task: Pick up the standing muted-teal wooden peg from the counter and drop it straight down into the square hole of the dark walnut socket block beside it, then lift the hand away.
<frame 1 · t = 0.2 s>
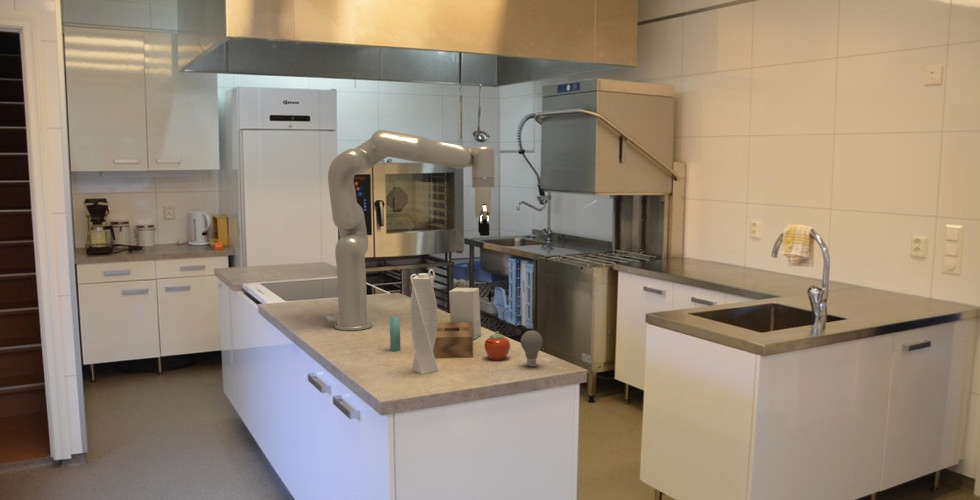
hand: (483, 234, 266), 31 cm above the countertop, fingers open, 9 cm apart
light bulb: (531, 367, 217), on the countertop
skyscraper: (425, 371, 214), on the countertop
walnut socket block: (452, 348, 237), on the countertop
teal peg: (395, 350, 236), on the countertop
skincare box: (465, 337, 252), on the countertop
tomato: (497, 359, 225), on the countertop
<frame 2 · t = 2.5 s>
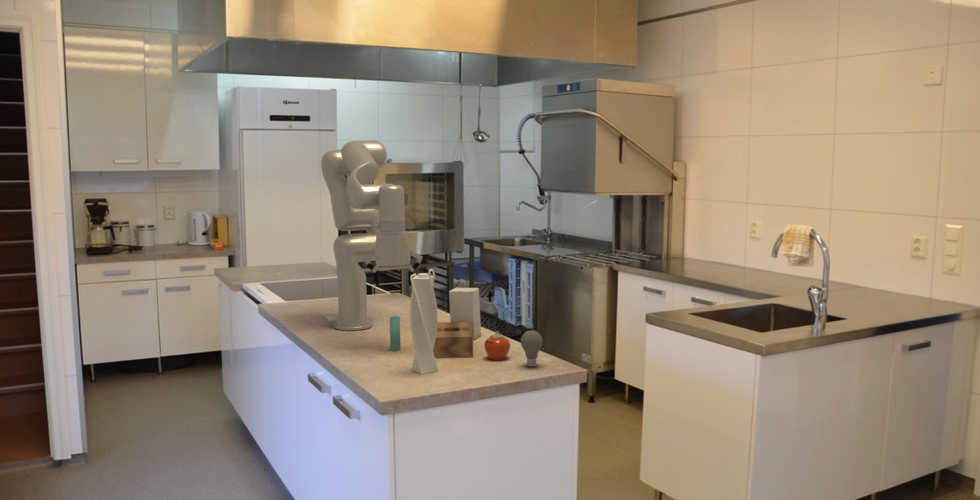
hand: (394, 284, 234), 20 cm above the countertop, fingers open, 9 cm apart
nothing on the countertop moved.
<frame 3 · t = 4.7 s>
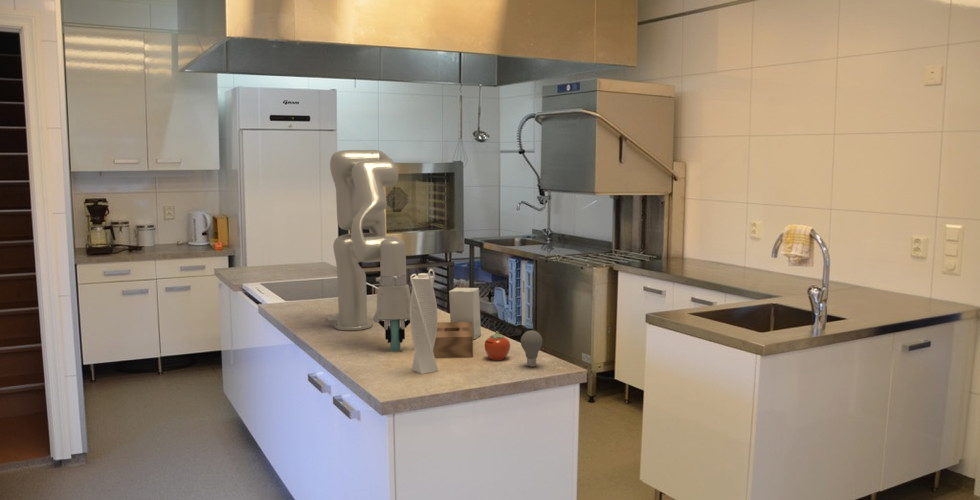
hand: (395, 341, 236), 3 cm above the countertop, fingers closed on teal peg, 3 cm apart
teal peg: (395, 350, 236), on the countertop, touching gripper
everything else where it was.
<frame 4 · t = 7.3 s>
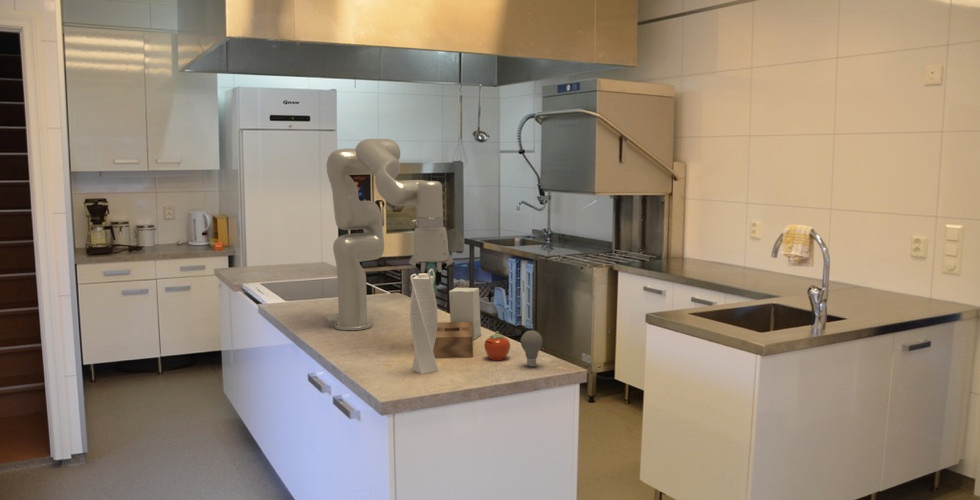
hand: (431, 284, 234), 20 cm above the countertop, fingers closed on teal peg, 3 cm apart
teal peg: (432, 293, 234), point 17 cm above the countertop, touching gripper
everything else where it was.
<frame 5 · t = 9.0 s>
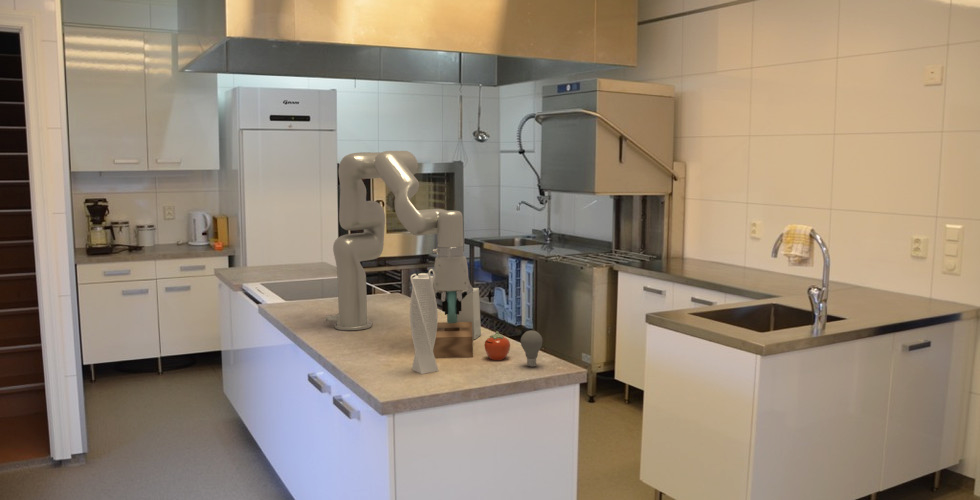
hand: (452, 313, 235), 11 cm above the countertop, fingers closed on teal peg, 3 cm apart
teal peg: (452, 322, 236), point 8 cm above the countertop, touching gripper
everything else where it was.
when the fingers open (7 cm above the countertop, at t = 10.2 s): teal peg drops 4 cm, resting in walnut socket block.
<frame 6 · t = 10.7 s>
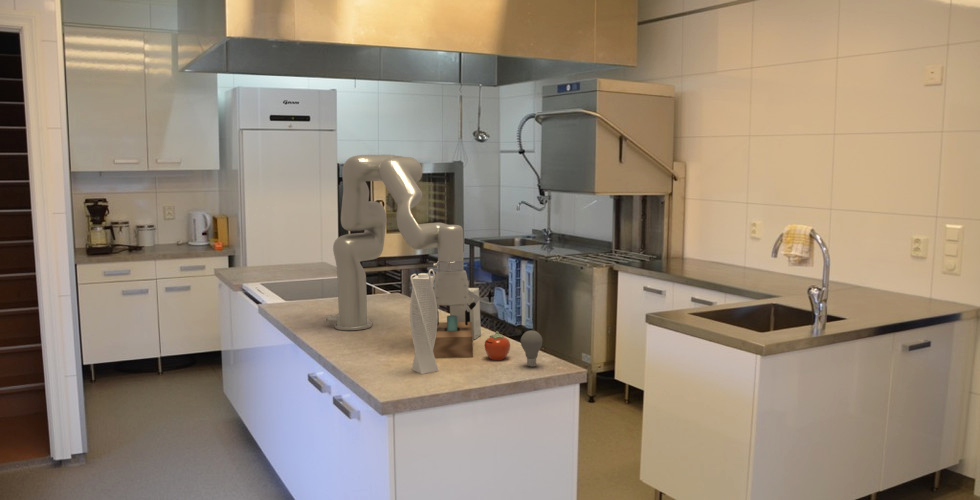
hand: (451, 324, 236), 8 cm above the countertop, fingers open, 8 cm apart
teal peg: (452, 349, 237), resting in walnut socket block
everything else where it was.
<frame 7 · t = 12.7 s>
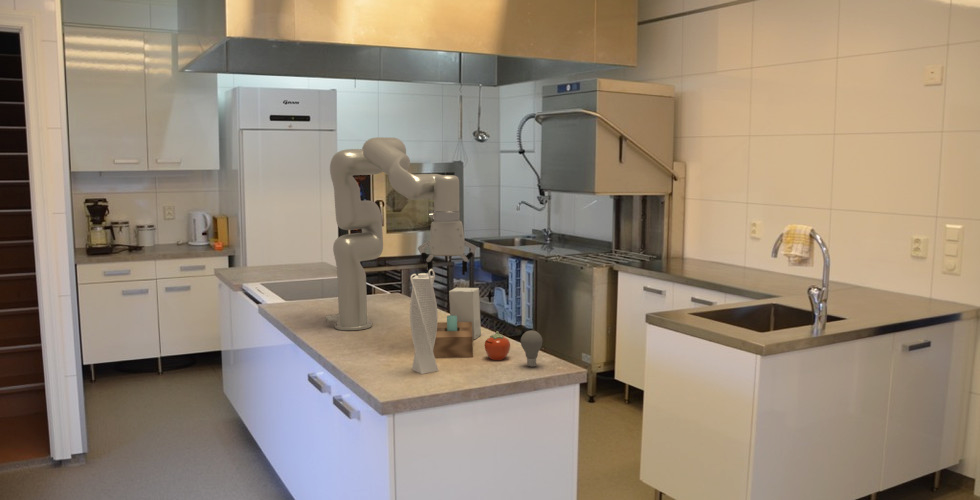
hand: (447, 274, 236), 22 cm above the countertop, fingers open, 9 cm apart
nothing on the countertop moved.
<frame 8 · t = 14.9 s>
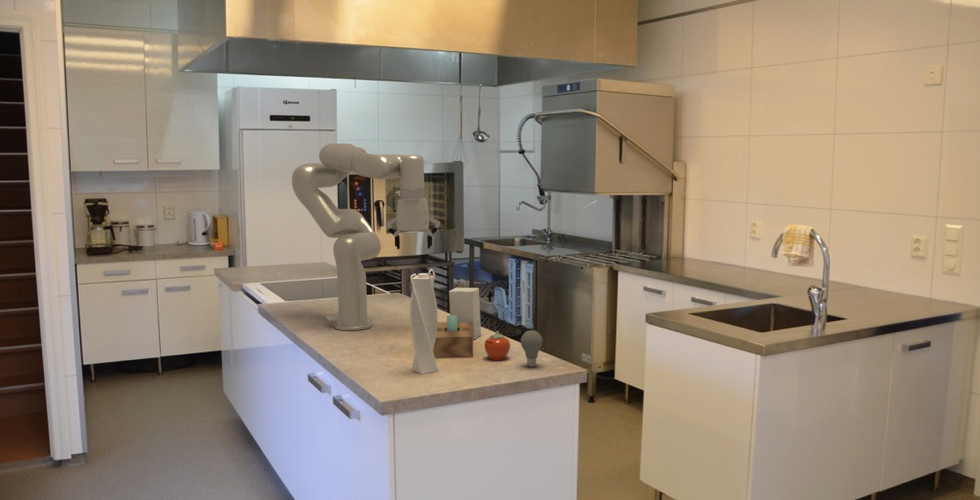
hand: (413, 248, 251), 28 cm above the countertop, fingers open, 9 cm apart
nothing on the countertop moved.
at the end: teal peg 0.0 cm off-centre on the walnut socket block, point 0.0 cm above the walnut socket block's base; teal peg tilted 0°; the gripper is holding nothing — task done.
